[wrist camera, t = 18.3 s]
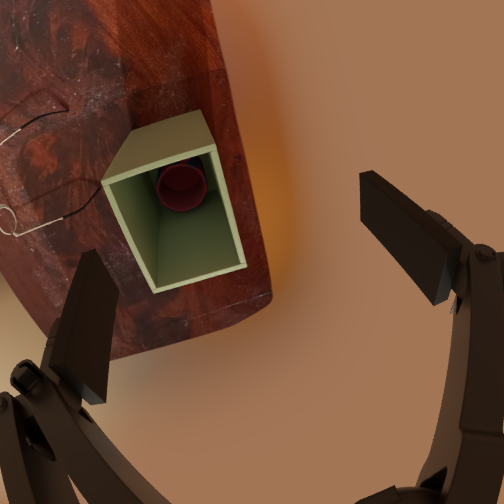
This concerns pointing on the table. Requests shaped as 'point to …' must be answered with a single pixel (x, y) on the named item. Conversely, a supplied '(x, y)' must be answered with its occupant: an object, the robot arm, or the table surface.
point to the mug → (182, 184)
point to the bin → (168, 221)
